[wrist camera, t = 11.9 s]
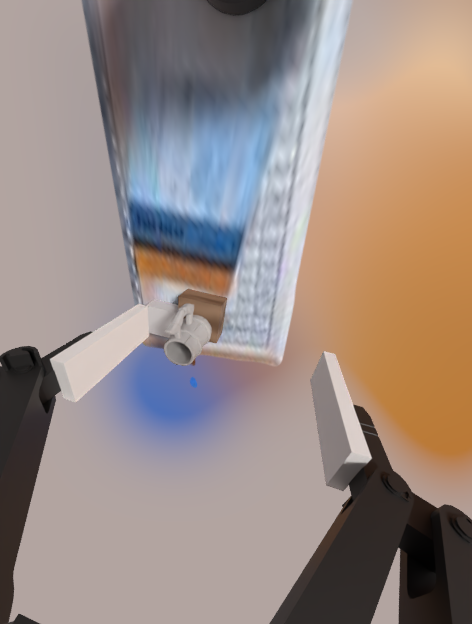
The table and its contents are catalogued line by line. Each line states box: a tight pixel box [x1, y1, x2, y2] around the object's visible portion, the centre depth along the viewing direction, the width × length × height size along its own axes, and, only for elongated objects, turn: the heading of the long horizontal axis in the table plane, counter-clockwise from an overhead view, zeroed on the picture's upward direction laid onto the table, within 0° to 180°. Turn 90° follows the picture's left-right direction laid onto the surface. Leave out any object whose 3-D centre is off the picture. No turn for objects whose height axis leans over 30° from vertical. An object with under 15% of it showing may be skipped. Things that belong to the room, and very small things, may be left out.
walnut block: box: [178, 289, 227, 343], centre depth 49 cm, size 10×10×5 cm
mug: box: [164, 303, 212, 366], centre depth 42 cm, size 8×12×12 cm, turn 1°
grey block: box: [146, 299, 178, 338], centre depth 53 cm, size 8×8×4 cm
